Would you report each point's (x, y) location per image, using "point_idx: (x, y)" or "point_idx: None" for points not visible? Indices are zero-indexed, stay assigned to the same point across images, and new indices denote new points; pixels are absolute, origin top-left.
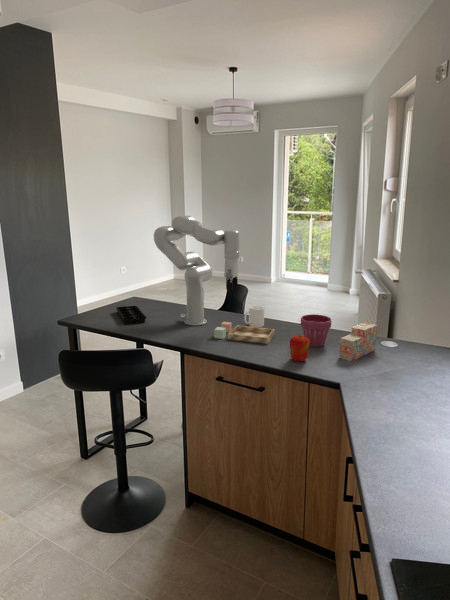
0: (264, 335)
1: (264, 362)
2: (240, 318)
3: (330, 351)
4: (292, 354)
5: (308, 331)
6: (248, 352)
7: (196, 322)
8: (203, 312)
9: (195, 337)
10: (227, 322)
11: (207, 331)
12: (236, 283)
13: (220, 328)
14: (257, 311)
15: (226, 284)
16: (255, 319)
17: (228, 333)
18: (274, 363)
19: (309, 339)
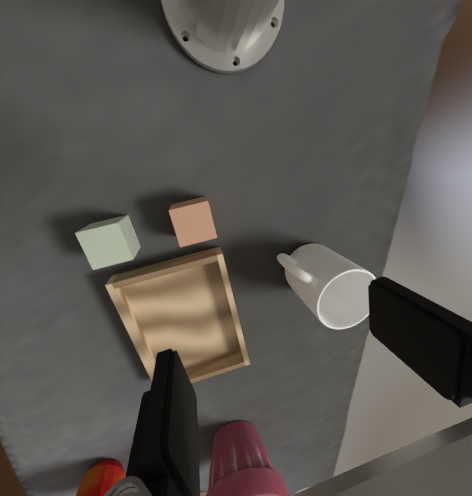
0: (216, 342)
1: (25, 438)
2: (365, 175)
3: (204, 471)
4: (79, 488)
5: (209, 485)
6: (56, 379)
7: (190, 27)
8: (246, 24)
9: (29, 149)
10: (205, 222)
11: (140, 150)
12: (396, 351)
13: (107, 246)
14: (315, 314)
15: (148, 419)
16: (296, 290)
17: (108, 284)
18: (41, 453)
19: (211, 457)
